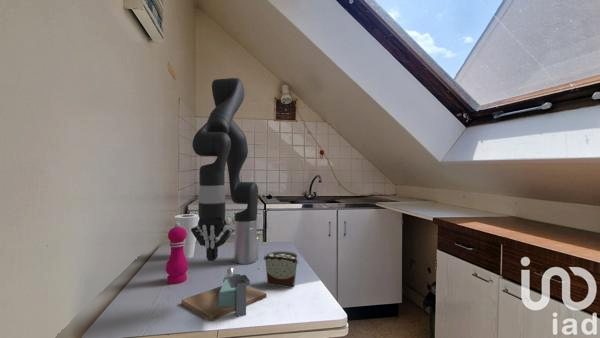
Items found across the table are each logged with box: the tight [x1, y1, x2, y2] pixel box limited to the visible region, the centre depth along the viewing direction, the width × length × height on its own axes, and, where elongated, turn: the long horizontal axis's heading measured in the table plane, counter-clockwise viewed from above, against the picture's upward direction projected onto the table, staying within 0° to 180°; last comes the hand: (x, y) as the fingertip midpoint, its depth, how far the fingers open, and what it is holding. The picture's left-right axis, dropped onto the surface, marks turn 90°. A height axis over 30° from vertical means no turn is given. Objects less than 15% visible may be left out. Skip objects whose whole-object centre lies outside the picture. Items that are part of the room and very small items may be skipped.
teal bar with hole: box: [219, 272, 244, 307], centre depth 89 cm, size 16×5×4 cm, turn 6°
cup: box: [174, 213, 199, 259], centre depth 132 cm, size 11×11×18 cm
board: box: [180, 285, 267, 322], centre depth 88 cm, size 19×15×1 cm
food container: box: [263, 250, 300, 288], centre depth 102 cm, size 12×6×10 cm, turn 71°
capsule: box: [226, 267, 234, 279], centre depth 93 cm, size 2×2×8 cm
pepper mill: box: [165, 222, 189, 285], centre depth 103 cm, size 7×7×20 cm
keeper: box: [228, 274, 251, 317], centre depth 81 cm, size 6×5×8 cm
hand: (211, 260), depth 87 cm, fingers closed
